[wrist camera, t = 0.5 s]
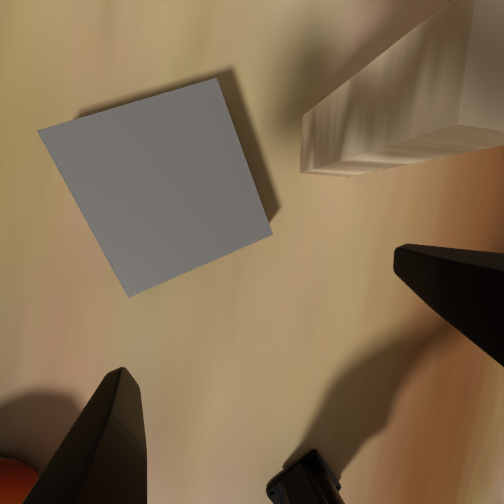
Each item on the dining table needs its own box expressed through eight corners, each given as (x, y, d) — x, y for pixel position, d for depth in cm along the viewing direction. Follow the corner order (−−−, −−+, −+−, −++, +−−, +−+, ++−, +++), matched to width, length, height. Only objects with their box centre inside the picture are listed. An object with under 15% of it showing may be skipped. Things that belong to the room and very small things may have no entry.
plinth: (262, 231, 22) (272, 234, 19) (134, 287, 20) (128, 297, 17) (212, 94, 19) (216, 77, 16) (57, 141, 17) (37, 130, 14)
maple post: (346, 177, 23) (541, 137, 10) (299, 173, 22) (457, 124, 9) (351, 122, 22) (566, 10, 10) (302, 115, 21) (478, -22, 9)
